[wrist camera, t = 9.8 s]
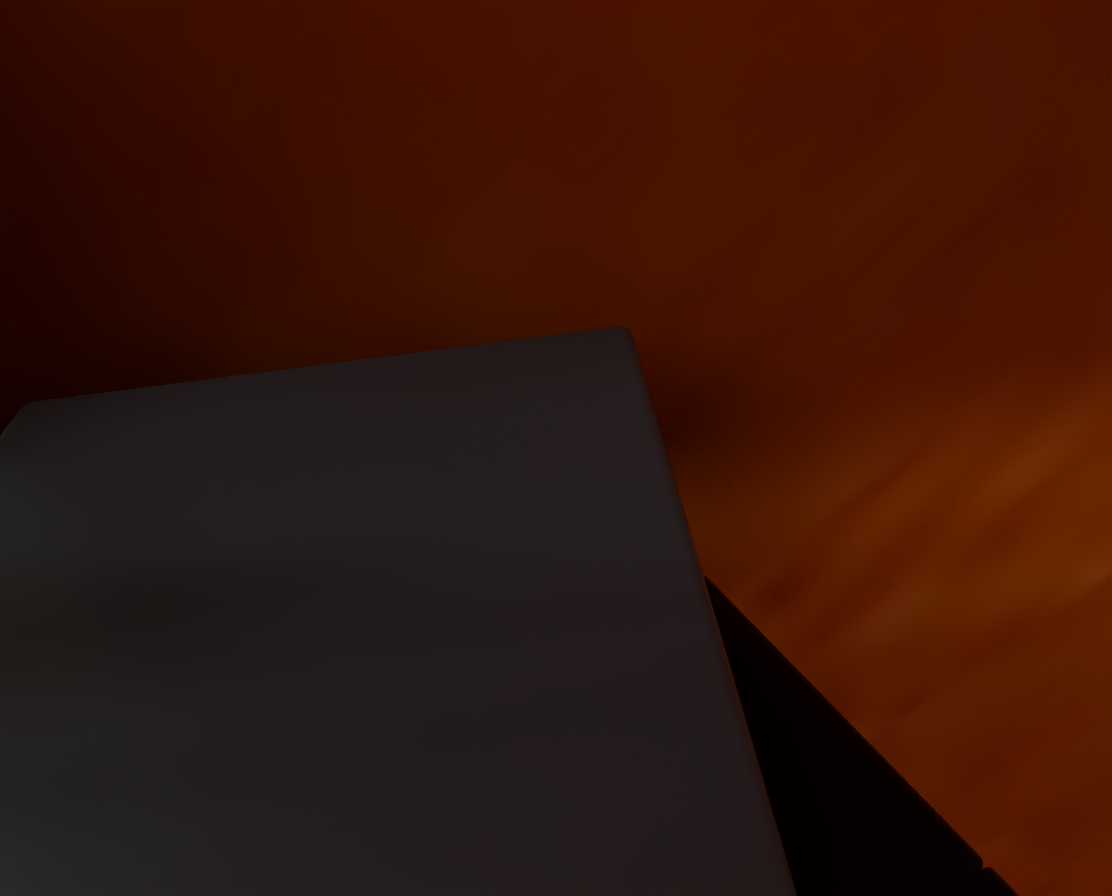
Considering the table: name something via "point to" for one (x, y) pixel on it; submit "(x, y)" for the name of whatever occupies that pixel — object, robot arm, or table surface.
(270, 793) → the block
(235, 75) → the table surface
